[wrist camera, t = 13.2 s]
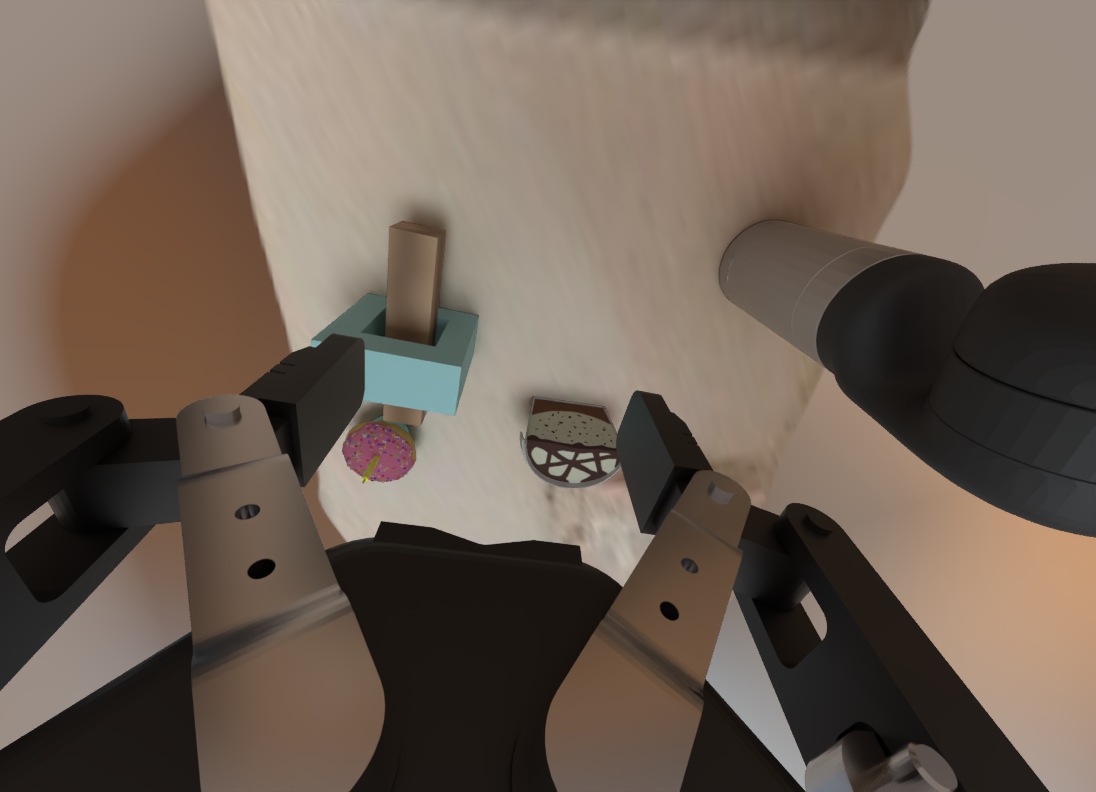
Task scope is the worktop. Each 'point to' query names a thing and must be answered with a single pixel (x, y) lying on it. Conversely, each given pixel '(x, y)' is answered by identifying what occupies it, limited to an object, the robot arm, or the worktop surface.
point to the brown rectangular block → (413, 295)
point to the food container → (570, 443)
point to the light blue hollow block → (409, 357)
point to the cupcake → (379, 450)
